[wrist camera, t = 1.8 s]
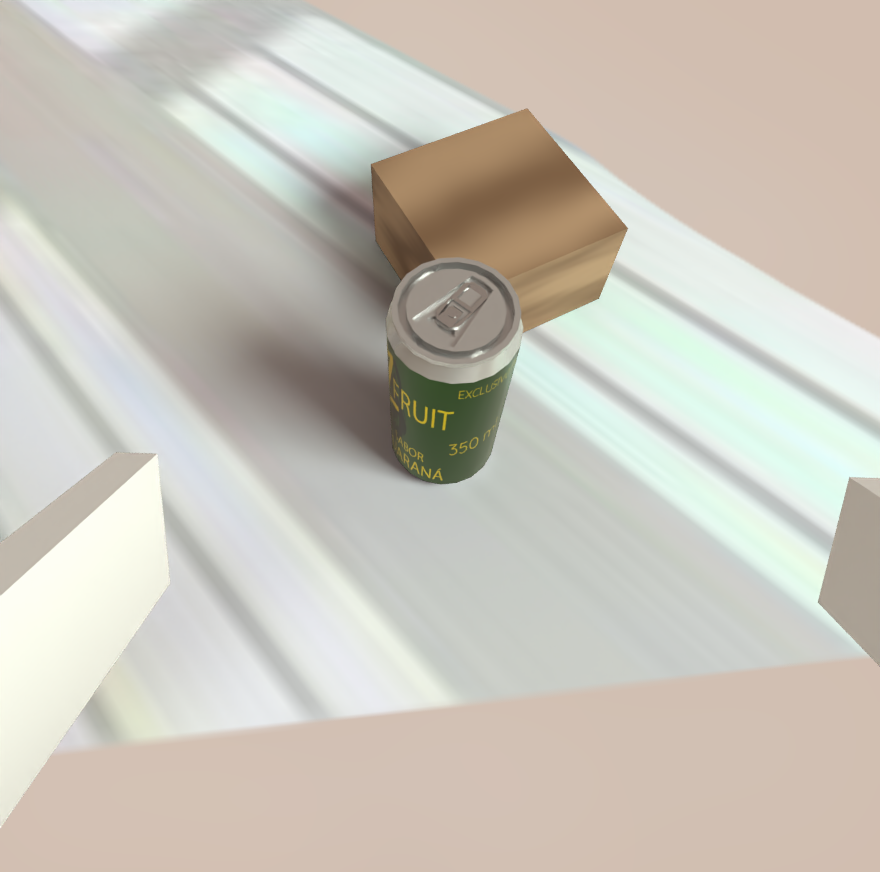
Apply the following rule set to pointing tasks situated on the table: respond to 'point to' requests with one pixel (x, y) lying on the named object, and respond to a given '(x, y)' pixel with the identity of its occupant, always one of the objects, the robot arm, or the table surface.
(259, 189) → the table surface
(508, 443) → the table surface
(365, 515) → the table surface
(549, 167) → the walnut block
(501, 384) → the guarana soda can
